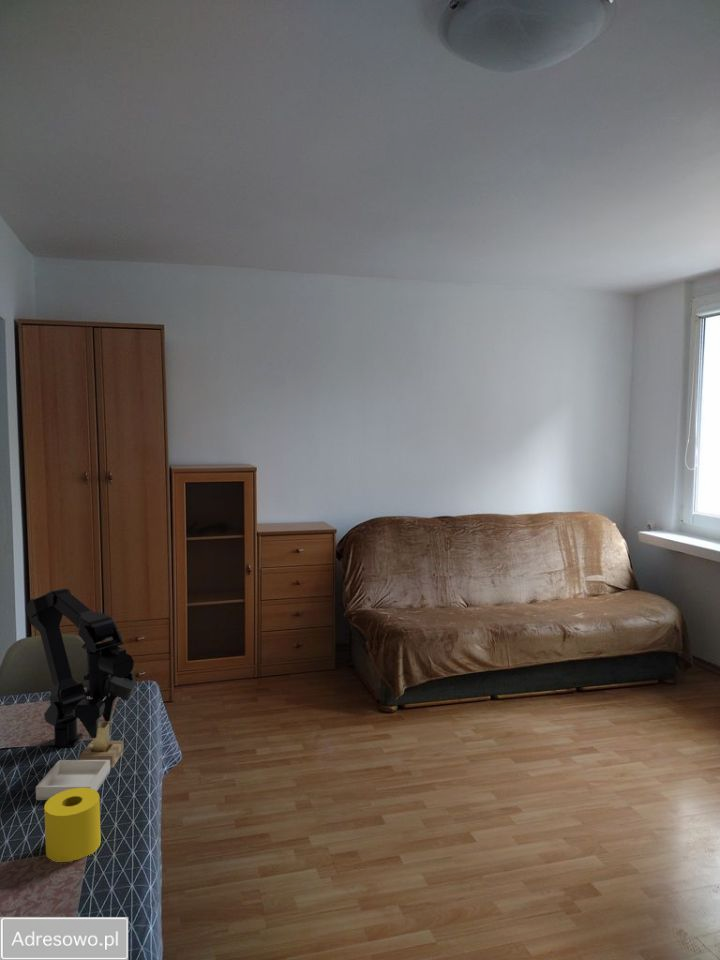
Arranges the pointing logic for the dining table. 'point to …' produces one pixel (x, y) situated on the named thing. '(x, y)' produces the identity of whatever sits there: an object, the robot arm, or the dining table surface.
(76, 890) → the dining table surface
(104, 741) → the pin
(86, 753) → the block
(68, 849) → the yellow toilet paper roll
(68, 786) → the tray
